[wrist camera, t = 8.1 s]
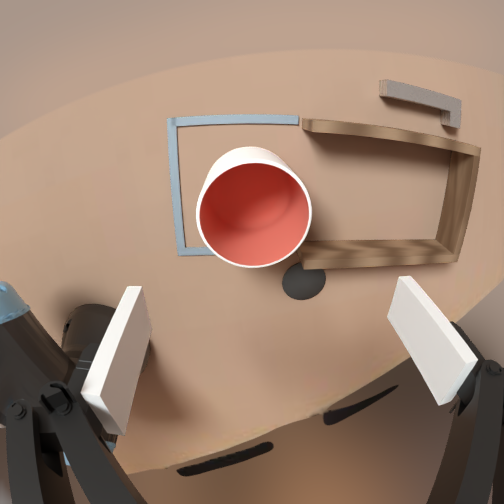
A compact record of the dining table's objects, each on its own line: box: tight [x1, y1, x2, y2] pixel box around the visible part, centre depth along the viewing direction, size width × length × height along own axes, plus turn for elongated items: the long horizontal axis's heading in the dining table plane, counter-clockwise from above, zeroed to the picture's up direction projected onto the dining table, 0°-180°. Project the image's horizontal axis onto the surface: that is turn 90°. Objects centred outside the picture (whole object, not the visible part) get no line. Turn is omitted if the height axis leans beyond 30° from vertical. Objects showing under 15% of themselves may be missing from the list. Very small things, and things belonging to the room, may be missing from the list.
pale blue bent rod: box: [167, 115, 298, 256], centre depth 34 cm, size 14×17×1 cm
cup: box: [196, 147, 312, 268], centre depth 30 cm, size 10×10×10 cm
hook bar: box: [379, 80, 461, 129], centre depth 29 cm, size 12×4×2 cm, turn 90°
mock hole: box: [282, 263, 326, 300], centre depth 40 cm, size 6×6×1 cm
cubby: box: [296, 118, 481, 269], centre depth 33 cm, size 23×16×5 cm
